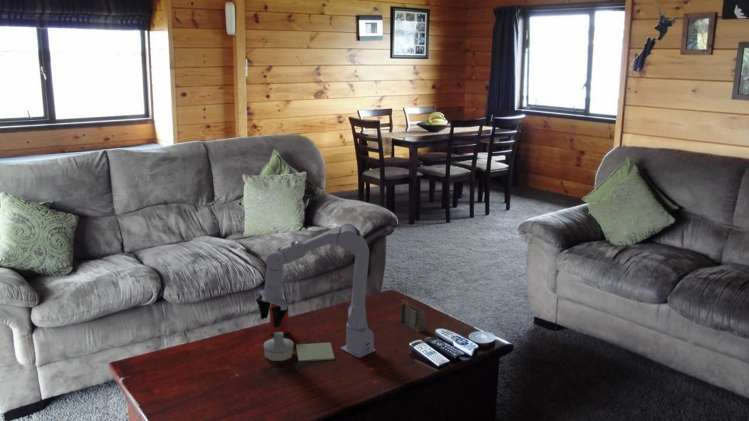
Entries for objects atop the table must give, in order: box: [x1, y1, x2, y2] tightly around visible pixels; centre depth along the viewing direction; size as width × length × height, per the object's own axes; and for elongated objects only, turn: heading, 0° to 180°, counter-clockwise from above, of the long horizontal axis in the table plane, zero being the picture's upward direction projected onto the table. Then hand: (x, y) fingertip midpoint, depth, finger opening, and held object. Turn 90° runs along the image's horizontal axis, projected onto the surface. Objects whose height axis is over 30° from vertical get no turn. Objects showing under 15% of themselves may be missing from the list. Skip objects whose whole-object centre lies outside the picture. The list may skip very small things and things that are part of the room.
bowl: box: [264, 348, 294, 362], centre depth 228 cm, size 9×9×3 cm
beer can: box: [269, 298, 289, 336], centre depth 244 cm, size 7×7×12 cm
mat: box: [295, 342, 336, 363], centre depth 231 cm, size 12×12×1 cm
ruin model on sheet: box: [400, 299, 426, 333], centre depth 253 cm, size 11×3×10 cm, turn 34°
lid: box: [263, 332, 295, 353], centre depth 227 cm, size 10×10×4 cm
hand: (270, 322), depth 230 cm, fingers open, 7 cm apart
